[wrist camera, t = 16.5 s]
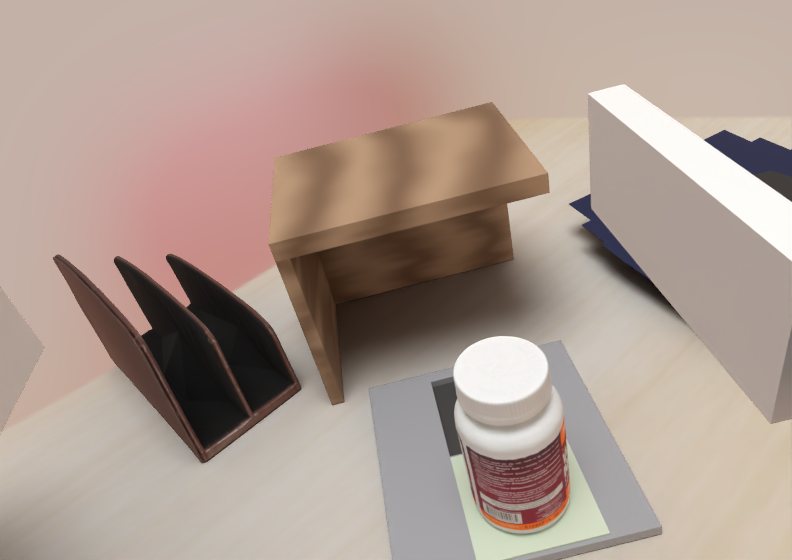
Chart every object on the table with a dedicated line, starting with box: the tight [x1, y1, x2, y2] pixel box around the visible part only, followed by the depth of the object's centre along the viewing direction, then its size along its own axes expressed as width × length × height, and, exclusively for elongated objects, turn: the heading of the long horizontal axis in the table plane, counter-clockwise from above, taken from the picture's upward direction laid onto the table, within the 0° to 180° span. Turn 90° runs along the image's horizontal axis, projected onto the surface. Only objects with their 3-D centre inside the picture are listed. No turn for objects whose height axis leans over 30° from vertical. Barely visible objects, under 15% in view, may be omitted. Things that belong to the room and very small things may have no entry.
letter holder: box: [53, 254, 301, 463], centre depth 54 cm, size 10×20×14 cm, turn 43°
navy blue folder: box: [569, 130, 792, 280], centre depth 53 cm, size 24×30×4 cm
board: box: [369, 340, 662, 560], centre depth 44 cm, size 16×17×1 cm
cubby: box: [269, 102, 550, 405], centre depth 52 cm, size 19×14×16 cm
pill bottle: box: [453, 336, 570, 533], centre depth 36 cm, size 6×6×11 cm
